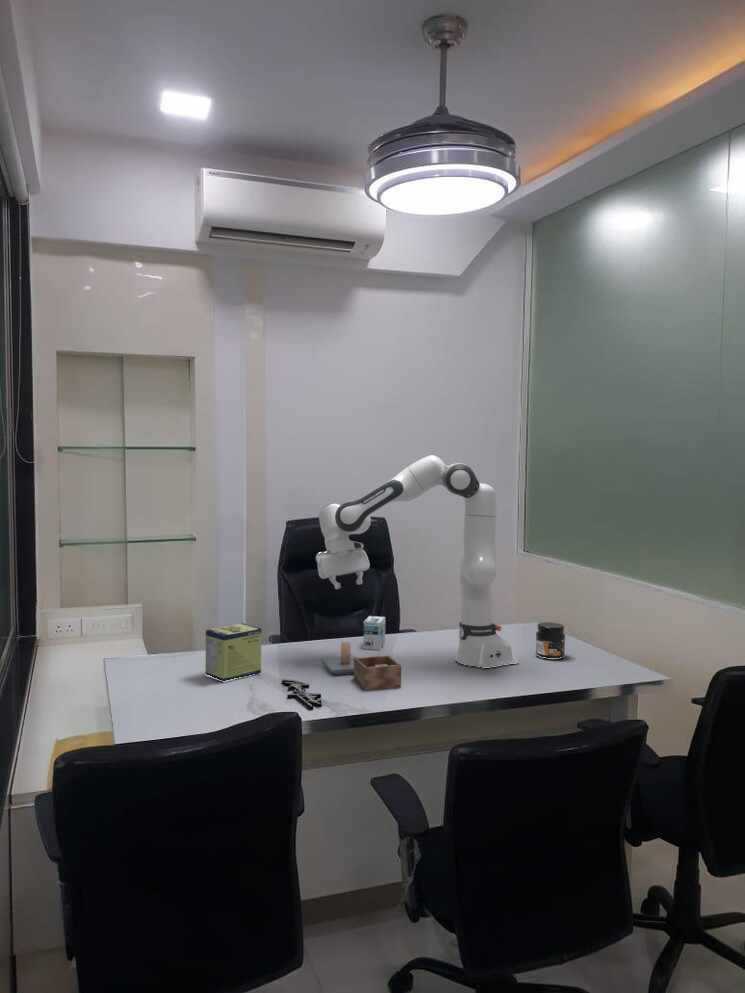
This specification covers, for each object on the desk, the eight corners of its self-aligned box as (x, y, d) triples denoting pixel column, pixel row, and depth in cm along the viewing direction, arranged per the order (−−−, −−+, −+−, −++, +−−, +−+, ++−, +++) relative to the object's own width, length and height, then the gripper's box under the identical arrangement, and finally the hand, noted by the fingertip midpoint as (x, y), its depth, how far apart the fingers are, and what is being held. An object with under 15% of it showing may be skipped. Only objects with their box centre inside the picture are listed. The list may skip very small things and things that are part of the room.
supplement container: (535, 659, 275) (535, 627, 274) (535, 652, 285) (536, 620, 285) (564, 661, 273) (565, 629, 272) (564, 654, 283) (565, 622, 282)
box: (388, 676, 251) (388, 655, 251) (400, 687, 240) (401, 665, 240) (353, 679, 248) (354, 658, 247) (364, 690, 236) (365, 668, 236)
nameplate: (270, 681, 240) (300, 677, 245) (270, 686, 240) (299, 682, 245) (302, 707, 216) (334, 703, 220) (302, 713, 216) (334, 708, 221)
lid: (357, 663, 267) (358, 637, 266) (369, 674, 254) (370, 646, 254) (322, 666, 262) (322, 639, 262) (332, 677, 250) (332, 649, 249)
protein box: (261, 673, 252) (262, 627, 251) (223, 683, 241) (223, 635, 240) (242, 667, 259) (243, 622, 258) (204, 676, 248) (204, 629, 247)
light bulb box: (380, 650, 284) (380, 622, 283) (362, 649, 285) (363, 621, 285) (385, 643, 294) (385, 616, 294) (368, 642, 296) (369, 615, 295)
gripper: (318, 550, 261) (329, 589, 259) (366, 542, 274) (376, 579, 271) (310, 555, 266) (320, 593, 263) (357, 547, 278) (367, 583, 276)
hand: (349, 586), depth 267 cm, fingers open, 8 cm apart
